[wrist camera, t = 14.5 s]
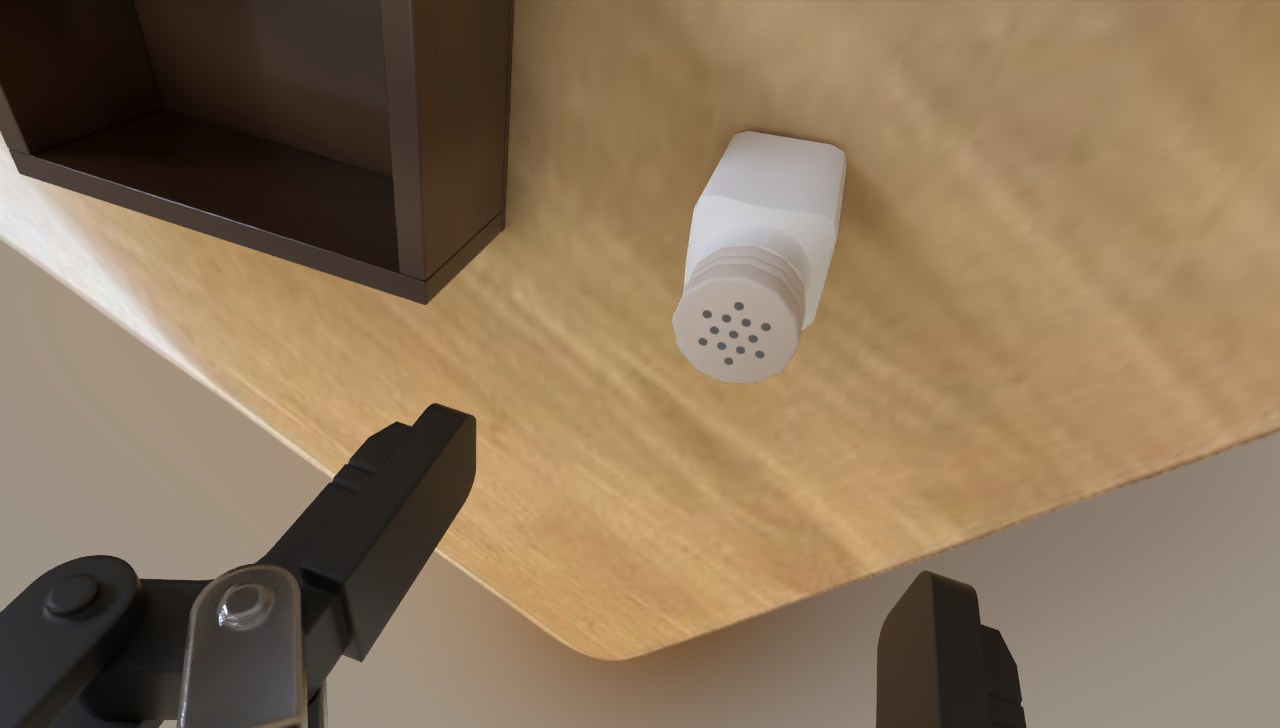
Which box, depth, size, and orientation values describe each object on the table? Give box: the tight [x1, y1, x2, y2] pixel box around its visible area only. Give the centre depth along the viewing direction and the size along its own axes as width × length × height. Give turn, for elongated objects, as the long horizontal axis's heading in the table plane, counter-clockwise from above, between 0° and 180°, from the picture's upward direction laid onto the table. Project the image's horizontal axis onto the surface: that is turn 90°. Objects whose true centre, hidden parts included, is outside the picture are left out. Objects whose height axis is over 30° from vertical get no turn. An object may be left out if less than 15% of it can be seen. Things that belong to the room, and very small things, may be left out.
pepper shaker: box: [672, 131, 847, 384], centre depth 20 cm, size 4×4×10 cm
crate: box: [0, 0, 514, 305], centre depth 23 cm, size 14×17×6 cm
